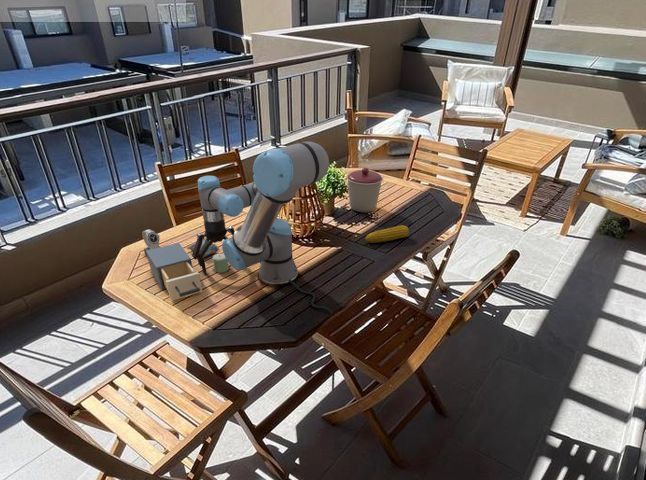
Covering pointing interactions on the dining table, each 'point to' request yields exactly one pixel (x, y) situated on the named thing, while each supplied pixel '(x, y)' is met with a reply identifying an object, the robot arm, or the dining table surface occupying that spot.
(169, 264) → the cabinet
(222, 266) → the votive
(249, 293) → the dining table surface
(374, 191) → the canister
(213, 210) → the robot arm
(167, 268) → the drawer
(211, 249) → the packaged food
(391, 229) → the food
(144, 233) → the watch
